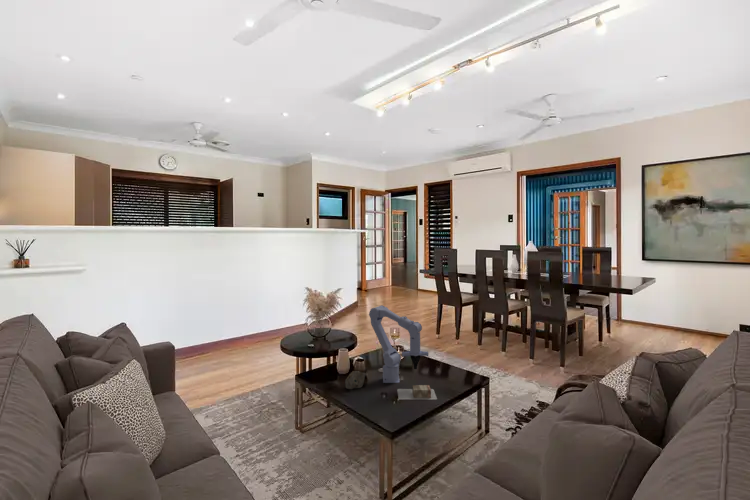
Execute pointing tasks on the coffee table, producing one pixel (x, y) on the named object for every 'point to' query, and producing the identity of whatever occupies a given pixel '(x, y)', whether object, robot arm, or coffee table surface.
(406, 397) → the grey mat
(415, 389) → the wooden block
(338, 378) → the coffee table surface
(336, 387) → the coffee table surface
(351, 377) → the rock
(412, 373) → the coffee table surface
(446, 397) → the coffee table surface
